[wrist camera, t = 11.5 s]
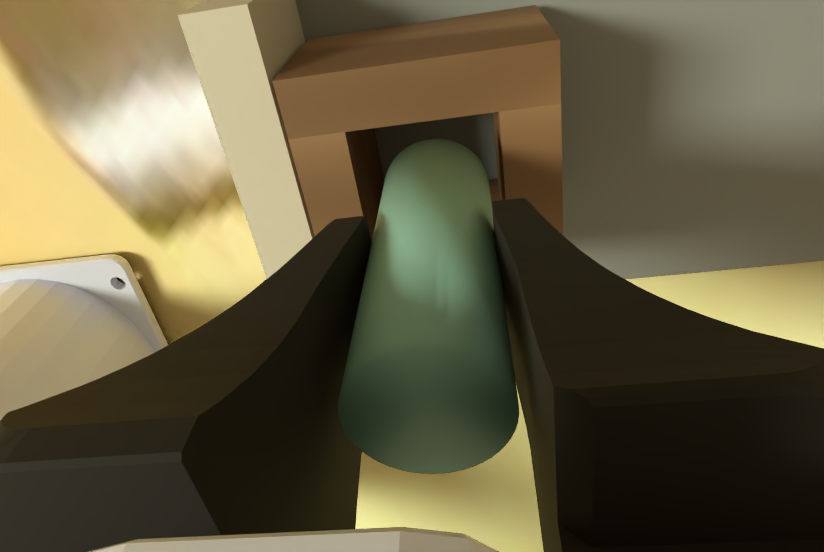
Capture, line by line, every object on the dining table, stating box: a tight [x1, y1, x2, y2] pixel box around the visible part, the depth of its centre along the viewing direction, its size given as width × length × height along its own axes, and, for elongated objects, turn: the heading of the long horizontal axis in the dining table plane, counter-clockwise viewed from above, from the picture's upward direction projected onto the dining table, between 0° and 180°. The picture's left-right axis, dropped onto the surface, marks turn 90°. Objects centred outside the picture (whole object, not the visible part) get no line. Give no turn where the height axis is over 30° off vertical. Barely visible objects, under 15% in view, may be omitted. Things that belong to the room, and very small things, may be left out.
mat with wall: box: [178, 0, 824, 279], centre depth 15 cm, size 12×18×4 cm, turn 99°
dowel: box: [338, 139, 519, 474], centre depth 11 cm, size 2×2×7 cm
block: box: [272, 5, 563, 242], centre depth 16 cm, size 6×6×4 cm
